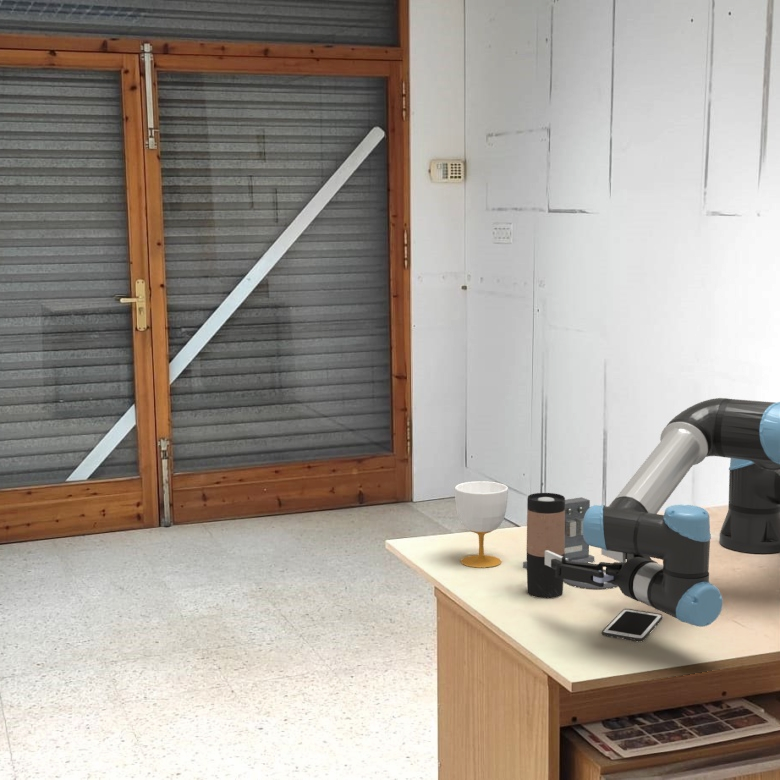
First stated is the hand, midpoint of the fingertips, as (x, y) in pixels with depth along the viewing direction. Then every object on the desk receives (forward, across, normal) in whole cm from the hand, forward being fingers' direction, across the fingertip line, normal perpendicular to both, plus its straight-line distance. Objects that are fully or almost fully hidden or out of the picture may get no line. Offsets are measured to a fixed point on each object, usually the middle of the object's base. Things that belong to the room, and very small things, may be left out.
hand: (574, 552), depth 219 cm
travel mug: (+10, 0, -11) cm, 15 cm away
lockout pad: (+12, +14, -11) cm, 21 cm away
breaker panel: (+24, +14, -11) cm, 30 cm away
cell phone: (-14, +3, -12) cm, 18 cm away
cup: (+34, 0, -11) cm, 36 cm away
